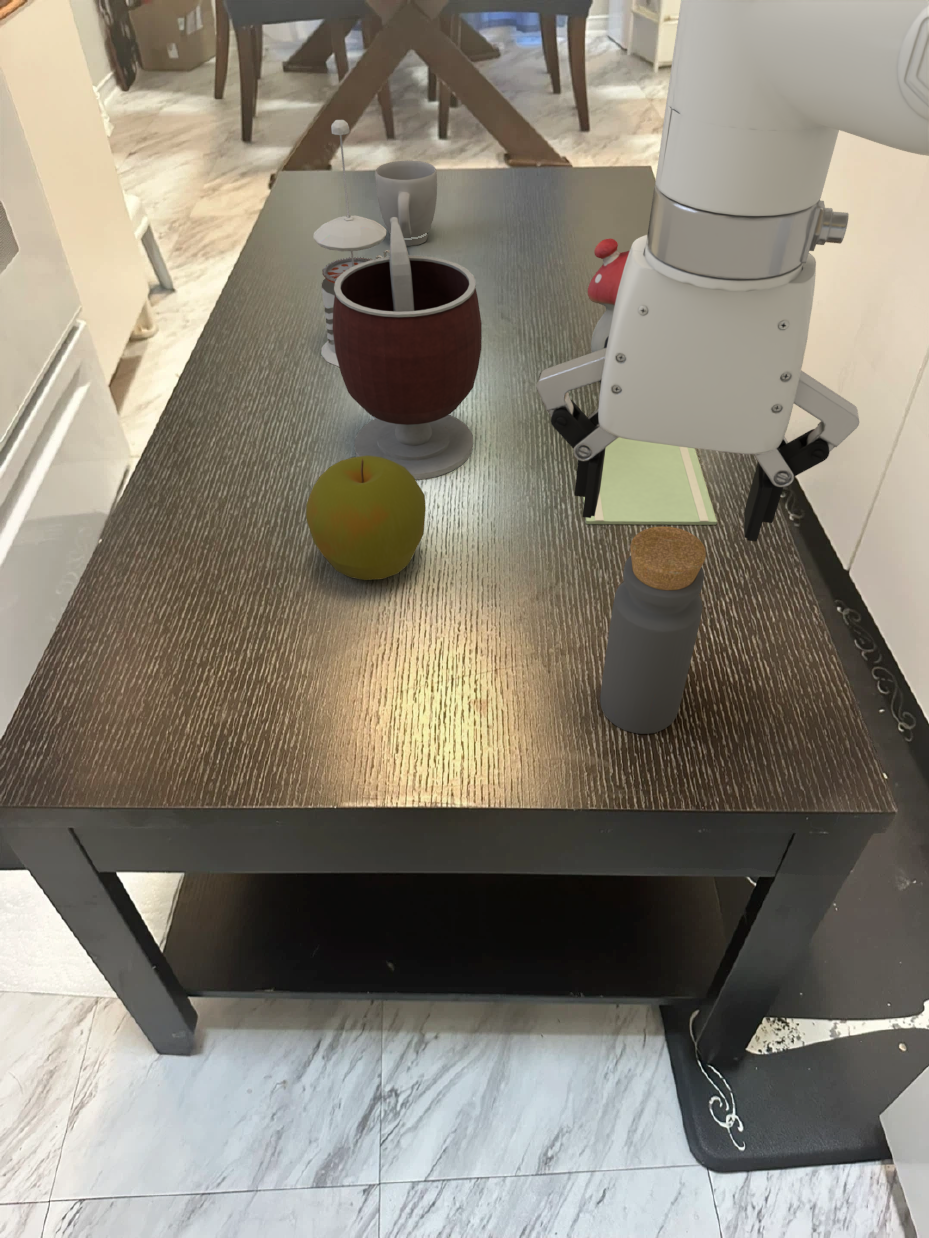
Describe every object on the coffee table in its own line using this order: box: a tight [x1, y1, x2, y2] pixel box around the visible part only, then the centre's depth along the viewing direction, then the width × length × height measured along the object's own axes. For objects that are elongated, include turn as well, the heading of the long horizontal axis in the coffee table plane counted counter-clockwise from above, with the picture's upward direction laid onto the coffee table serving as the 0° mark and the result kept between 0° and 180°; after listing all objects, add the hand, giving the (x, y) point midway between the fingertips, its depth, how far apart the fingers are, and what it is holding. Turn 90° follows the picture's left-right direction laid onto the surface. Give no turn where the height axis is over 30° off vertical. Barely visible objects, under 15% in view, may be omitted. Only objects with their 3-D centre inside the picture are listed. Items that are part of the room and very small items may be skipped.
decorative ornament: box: [587, 238, 630, 353], centre depth 97 cm, size 9×7×15 cm
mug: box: [374, 159, 438, 247], centre depth 128 cm, size 12×9×10 cm
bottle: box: [599, 525, 707, 735], centre depth 61 cm, size 6×6×15 cm
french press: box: [313, 119, 390, 367], centre depth 98 cm, size 10×12×25 cm
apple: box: [305, 456, 427, 581], centre depth 74 cm, size 10×10×11 cm
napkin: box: [582, 437, 718, 526], centre depth 88 cm, size 18×12×1 cm, turn 179°
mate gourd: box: [333, 217, 483, 480], centre depth 85 cm, size 16×14×20 cm
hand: (669, 515), depth 54 cm, fingers open, 9 cm apart
